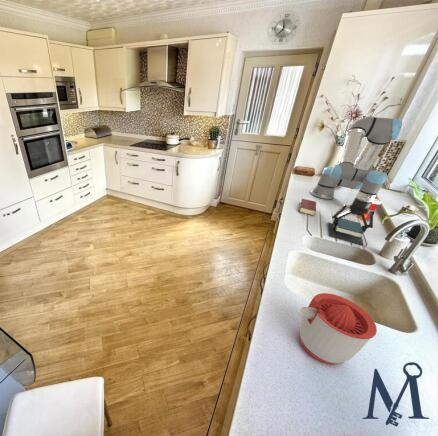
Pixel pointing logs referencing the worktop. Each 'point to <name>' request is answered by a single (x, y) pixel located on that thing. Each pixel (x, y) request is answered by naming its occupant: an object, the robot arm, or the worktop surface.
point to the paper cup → (371, 208)
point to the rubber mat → (344, 236)
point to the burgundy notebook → (307, 207)
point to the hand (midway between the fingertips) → (345, 232)
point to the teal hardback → (349, 227)
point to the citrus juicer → (334, 328)
